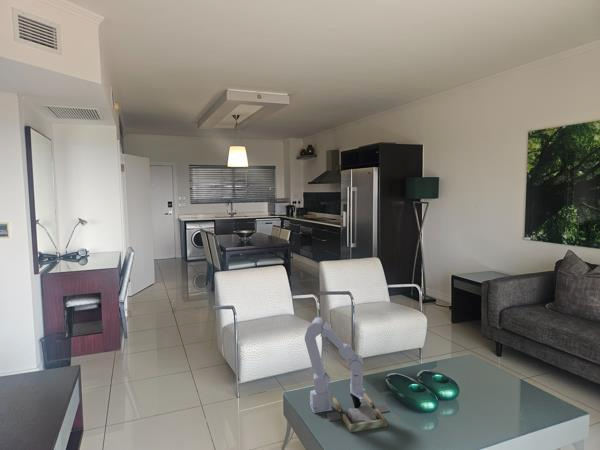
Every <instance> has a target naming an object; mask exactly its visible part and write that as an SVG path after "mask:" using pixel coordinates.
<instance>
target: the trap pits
mask: <svg viewBox="0 0 600 450" xmlns="http://www.w3.org/2000/svg"><path fill="white" fill-rule="evenodd" d="M372 408H373V410H375V409H378V410H379V411H380V412H381V414H383V413H384V414H385V413H390V412H391V410H390V409H389V408H388V407H387V405H386V404H378V405H377V404H376V405H373V407H372ZM325 415H326V417H327V419H328V421H329V422H334V421H335V422H336V421H339V420H340V421H341V420H343V417H342V416H341V415H340V412H338V411H333V412H327V413H325Z"/></svg>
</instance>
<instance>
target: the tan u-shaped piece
mask: <svg viewBox="0 0 600 450" xmlns="http://www.w3.org/2000/svg"><path fill="white" fill-rule="evenodd" d="M364 398H365V403H367V405H368V406H371V407H372V408H374V407H373V406H374V405H373V403H374V402H373V401H372V399H371V398H370V397H369V396H368V394H367V393H366V392H364ZM332 403H333V405H334V406H335V408H336V411H337V412H339V413H341V412H342V406H341V404H340V403H339V401H338V400H337V398H336V397H332ZM374 410H375V411H374V413H375V415H376V418H378V419H377V420H372V421H366V422H360V423H354V424H353V423H351V421H350V420H349V419H350V418H349V417H348V415H347V414H346V413H342V421H343V422H344V424H345V426H346V428H347V429H348V431H349V432H350V433H355V432H360V431H367V430H372V429H377V428H384V427H388V419H387V418H386V417H385V416H384V415H383V413H381V412H380V411H379V410H378V409H374Z"/></svg>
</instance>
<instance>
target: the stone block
mask: <svg viewBox="0 0 600 450" xmlns="http://www.w3.org/2000/svg"><path fill="white" fill-rule="evenodd" d="M347 418H348V419H350V420H351V422H352V424H354V423H360V422H366V421H372V420H378V419H377V416H376V414H375V411H374V408H373V407H371V406H369V405H368V404H367V405H361V406H360V407H359V408H353V407H351V408H348V410H347Z"/></svg>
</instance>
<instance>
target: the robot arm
mask: <svg viewBox="0 0 600 450" xmlns="http://www.w3.org/2000/svg"><path fill="white" fill-rule="evenodd" d="M319 335H320V336H319ZM318 336H319V337H322V338H327V339H328V340H329V341H331V343H332V344H333V345H334V346H336V348H337V349H338V354H339V355H340V356H341V357H342V358H343V359H344V360H345V362H347V363H348V364H349V365H348V367H349V369H350V384H349V388H350V393H349V394H350V397H351V400H352V404H353V407H354V408H359V407H361V406H362V403H366V401H365V398H364V393H366V389H365V388H364V378H363V377H364V376H363V375H364V372H363V364H364V359H363V357H362V355H360V354H358V353H356V352H355V350H353V349H352V346H351V345H349V344H348V343H344V342H343V341H342V340H341V338H340V337H339V336H338V335H337V334H336V332H335V331H334V329H332V327H331V326H330V325H329V323H328V322H327V321H325V319H324V317H321V316H316V317H314V319H313V320H312V321H311V322H310V324H309V325H308V326H307V328H306V331H305V335H304V342H305V345H306V349H307V353H308V356H309V359H310V364H311V367H312V371H313V389H312V390H310V391H309V406H310V408H311V410H312V412H313V413H314V414H316V413H323V412H329V411H333V408H332V406H331V404H330V403H331V401H330V397H331V396H330V387H329V383H330V382H331V377H330V376H329V374H328V373H327V370H326V369H325V368H324V365H323V361H322V357H321V353H320V350H319V347H318V342H317V339H316V338H317V337H318ZM354 408H353V409H354Z"/></svg>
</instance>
